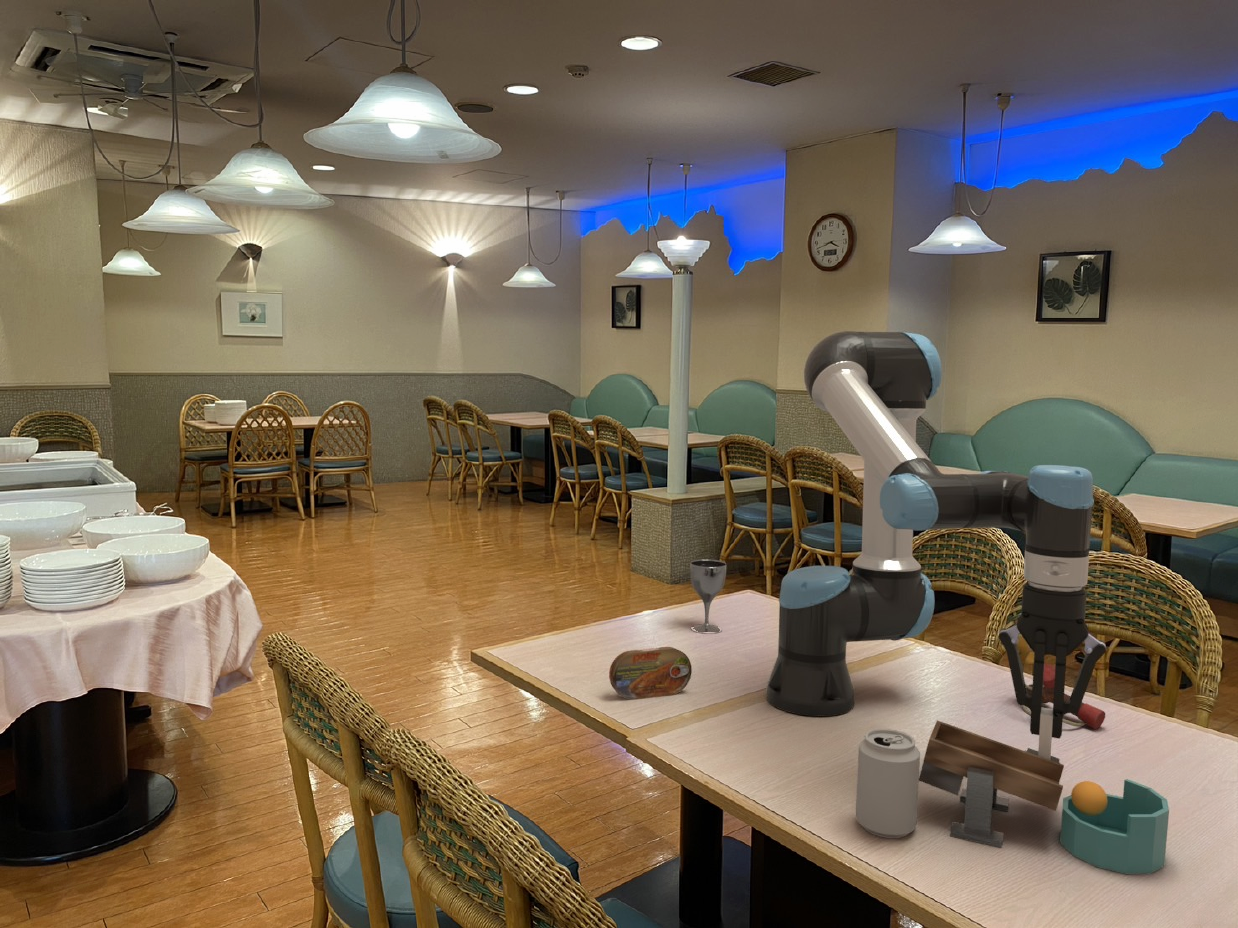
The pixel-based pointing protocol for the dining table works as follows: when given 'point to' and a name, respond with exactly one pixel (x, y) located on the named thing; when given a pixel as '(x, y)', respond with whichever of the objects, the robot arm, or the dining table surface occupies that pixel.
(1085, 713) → the slingshot
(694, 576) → the wine glass
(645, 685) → the tin
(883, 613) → the robot arm
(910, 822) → the can
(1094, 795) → the ball
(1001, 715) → the dining table surface
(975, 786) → the stand
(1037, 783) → the lever
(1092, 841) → the teal container
